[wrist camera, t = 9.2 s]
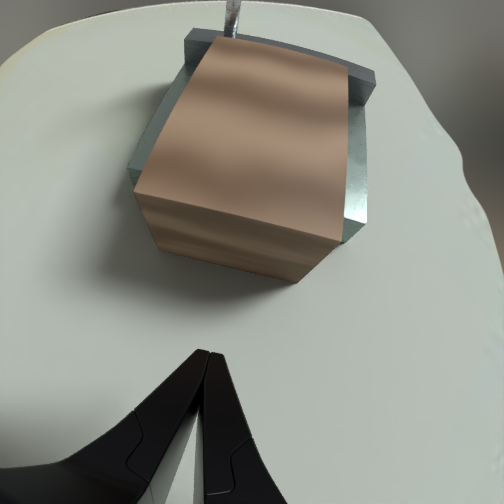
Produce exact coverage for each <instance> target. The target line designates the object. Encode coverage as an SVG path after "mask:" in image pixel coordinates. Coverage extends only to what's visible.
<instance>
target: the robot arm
mask: <svg viewBox="0 0 504 504" xmlns="http://www.w3.org/2000/svg"><path fill="white" fill-rule="evenodd" d="M198 410H199V411H198ZM197 414H198V419H197V433H196V451H195V472H194V497H193V504H287V502H286V500H285V499H284V497H283V496H282V494H281V492H280V491H279V489H278V487H277V486H276V484H275V482H274V481H273V479H272V477H271V476H270V474H269V472H268V470H267V468H266V467H265V465H264V463H263V461H262V459H261V456H260V454H259V452H258V449H257V447H256V444H255V442H254V439H253V438H252V434H251V431H250V429H249V426H248V423H247V421H246V418H245V415H244V412H243V410H242V407H241V404H240V401H239V398H238V395H237V393H236V390H235V387H234V384H233V381H232V378H231V375H230V372H229V369H228V366H227V363H226V360H225V357H224V355H223V354H220V353H215V352H211V353H210V352H209V351H206V350H202V349H197V350H195V351H194V352H193V353H192V354H191V355H190V356H189V357H188V358H187V359H186V360H185V361H184V362H183V363H182V364H181V365H180V366H179V367H178V368H177V369H176V370H175V371H174V372H173V373H172V374H171V375H170V376H169V377H167V378H166V379H165V380H164V381H163V382H162V383H161V384H160V385H159V386H158V387H157V388H156V389H155V390H154V391H153V392H152V393H151V394H150V395H148V396H147V397H146V398H145V399H144V400H143V401H142V402H141V403H140V404H139V405H138V406H137V407H136V408H135V409H134V411H131V412H130V413H129V414H128V415H127V416H126V417H125V418H124V419H122V420H121V421H120V422H119V423H118V424H117V425H115V426H114V427H113V428H112V429H110V430H109V431H107V432H106V433H105V434H103V435H102V436H100V437H99V438H97V439H96V440H94V441H93V442H91V443H90V444H88V445H87V446H85V447H84V448H82V449H81V450H79V451H78V452H76V453H74V454H73V455H71V456H70V457H68V458H66V459H64V460H61V461H59V462H55V463H50V464H43V465H35V466H25V467H14V468H0V504H165V501H166V498H167V496H168V493H169V490H170V488H171V485H172V482H173V479H174V477H175V474H176V471H177V469H178V466H179V463H180V461H181V458H182V455H183V453H184V450H185V447H186V444H187V442H188V439H189V436H190V434H191V431H192V428H193V425H194V423H195V420H196V417H197Z"/></svg>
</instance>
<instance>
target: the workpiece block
mask: <svg viewBox="0 0 504 504" xmlns="http://www.w3.org/2000/svg"><path fill="white" fill-rule="evenodd" d="M347 152H348V67H346V66H343V65H340V64H337V63H334V62H331V61H328V60H325V59H321V58H318V57H315V56H311V55H308V54H304V53H300V52H296V51H293V50H289V49H284V48H280V47H276V46H272V45H267V44H262V43H257V42H252V41H247V40H241V39H235V38H229V37H222V36H217V37H216V38H215V40H214V42H213V43H212V45H211V46H210V48H209V49H208V51H207V52H206V54H205V55H204V57H203V59H202V60H201V62H200V63H199V65H198V67H197V68H196V70H195V72H194V73H193V75H192V77H191V78H190V80H189V82H188V83H187V85H186V87H185V89H184V90H183V92H182V94H181V96H180V97H179V99H178V101H177V103H176V105H175V106H174V108H173V110H172V112H171V114H170V116H169V118H168V120H167V121H166V123H165V125H164V127H163V129H162V131H161V133H160V135H159V137H158V139H157V141H156V143H155V145H154V147H153V149H152V151H151V153H150V156H149V158H148V160H147V162H146V164H145V166H144V168H143V171H142V173H141V175H140V177H139V180H138V182H137V184H136V186H135V189H134V191H133V192H134V195H135V197H136V200H137V202H138V204H139V207H140V209H141V211H142V214H143V216H144V218H145V221H146V223H147V225H148V227H149V230H150V232H151V234H152V236H153V238H154V241H155V243H156V245H157V247H158V249H159V250H162V251H166V252H170V253H174V254H178V255H182V256H186V257H190V258H194V259H198V260H202V261H206V262H210V263H214V264H218V265H223V266H227V267H231V268H235V269H239V270H243V271H248V272H252V273H256V274H260V275H264V276H269V277H273V278H277V279H282V280H286V281H290V282H295V283H298V282H299V281H300V280H301V279H302V278H304V277H305V276H306V275H307V274H308V273H309V272H310V271H311V270H312V269H313V268H314V267H315V266H316V265H318V264H319V263H320V262H321V261H322V260H323V259H324V258H325V257H326V256H327V255H328V254H329V253H330V252H331V251H332V250H333V249H334V248H336V247H337V246H338V245H339V244H340V243H341V242H342V232H343V221H344V208H345V193H346V176H347Z"/></svg>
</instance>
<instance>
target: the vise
mask: <svg viewBox="0 0 504 504" xmlns="http://www.w3.org/2000/svg"><path fill="white" fill-rule="evenodd" d="M240 6H241V0H227V5H226V15H225V25H224V31H216V30H208V29H199V28H193V29H192V30H191V31H190V33H189V34H188V35H187V36H186V38H185V39H184V54H185V64H184V65H183V67H182V68H181V70H180V71H179V73H178V75H177V76H176V78H175V79H174V81H173V83H172V84H171V86H170V88H169V89H168V91H167V93H166V94H165V96H164V98H163V99H162V101H161V103H160V105H159V106H158V108H157V110H156V112H155V114H154V115H153V117H152V119H151V121H150V123H149V124H148V126H147V128H146V130H145V132H144V134H143V136H142V138H141V140H140V142H139V144H138V146H137V148H136V150H135V152H134V154H133V156H132V158H131V160H130V162H129V164H128V166H127V170H128V172H129V175H130V177H131V180H132V183H133V185H134V188H135V186H136V184H137V182H138V180H139V177H140V175H141V173H142V171H143V168H144V166H145V164H146V162H147V160H148V158H149V156H150V153H151V151H152V149H153V147H154V145H155V143H156V141H157V139H158V137H159V135H160V133H161V131H162V129H163V127H164V125H165V123H166V121H167V120H168V118H169V116H170V114H171V112H172V110H173V108H174V106H175V105H176V103H177V101H178V99H179V97H180V96H181V94H182V92H183V90H184V89H185V87H186V85H187V83H188V82H189V80H190V78H191V77H192V75H193V73H194V72H195V70H196V68H197V67H198V65H199V63H200V62H201V60H202V59H203V57H204V55H205V54H206V52H207V51H208V49H209V48H210V46H211V45H212V43H213V42H214V40H215V38H216V37H217V36H222V37H229V38H235V39H241V40H247V41H252V42H257V43H262V44H267V45H272V46H276V47H280V48H284V49H289V50H293V51H296V52H300V53H304V54H308V55H311V56H315V57H318V58H321V59H325V60H328V61H331V62H334V63H337V64H340V65H343V66H346V67H348V152H347V176H346V193H345V208H344V221H343V232H342V242H344V243H346V242H347V241H348V240H349V239H350V238H351V237H352V236H353V235H355V234H356V233H357V232H358V231H359V230H360V229H361V228H362V227H363V226H364V225H365V224H366V213H367V149H366V124H365V107H364V106H365V104H366V102H367V100H368V99H369V97H370V95H371V93H372V91H373V90H374V88H375V86H376V80H375V74H374V71H373V70H370V69H368V68H365V67H362V66H360V65H357V64H354V63H351V62H349V61H346V60H343V59H340V58H337V57H334V56H330V55H327V54H324V53H321V52H317V51H314V50H310V49H307V48H303V47H299V46H295V45H291V44H287V43H283V42H279V41H274V40H269V39H265V38H260V37H254V36H249V35H243V34H237V29H238V22H239V14H240Z"/></svg>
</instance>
